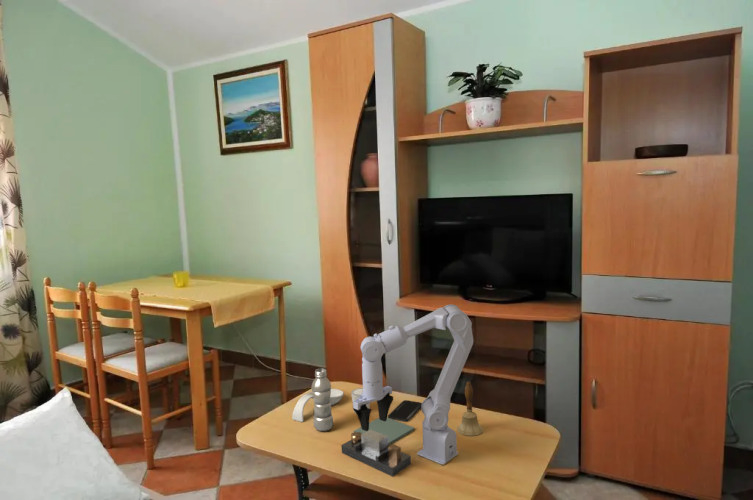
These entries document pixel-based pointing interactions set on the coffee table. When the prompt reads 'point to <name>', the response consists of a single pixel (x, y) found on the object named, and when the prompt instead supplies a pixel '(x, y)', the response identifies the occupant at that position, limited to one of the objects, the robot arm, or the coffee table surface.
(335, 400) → the spoon rest
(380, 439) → the rectangular metal block
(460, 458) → the coffee table surface
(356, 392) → the grey and white cylinder
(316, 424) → the silver metal bottle
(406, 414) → the phone
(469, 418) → the hand bell
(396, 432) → the rubber mat
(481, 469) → the coffee table surface
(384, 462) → the hand plane
